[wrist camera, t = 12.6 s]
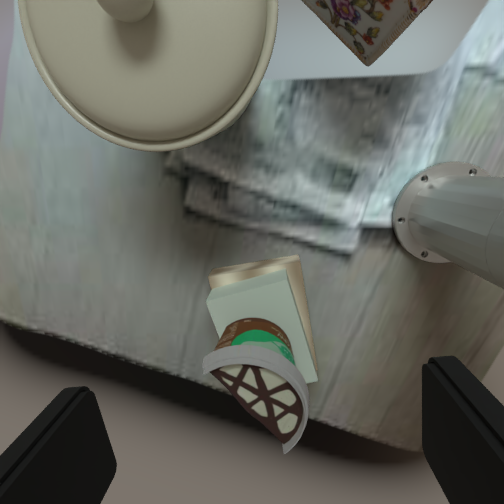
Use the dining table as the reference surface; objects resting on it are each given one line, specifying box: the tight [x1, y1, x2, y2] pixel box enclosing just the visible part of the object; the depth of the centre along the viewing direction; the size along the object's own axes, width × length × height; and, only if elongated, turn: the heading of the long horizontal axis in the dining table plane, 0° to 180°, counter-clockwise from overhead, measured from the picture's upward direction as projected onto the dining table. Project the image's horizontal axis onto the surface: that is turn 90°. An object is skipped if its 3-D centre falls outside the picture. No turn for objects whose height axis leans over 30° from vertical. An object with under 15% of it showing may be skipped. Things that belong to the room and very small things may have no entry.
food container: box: [202, 318, 310, 454], centre depth 32 cm, size 12×6×10 cm, turn 41°
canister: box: [18, 0, 278, 152], centre depth 27 cm, size 18×18×21 cm
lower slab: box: [208, 255, 318, 371], centre depth 43 cm, size 12×16×4 cm
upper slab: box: [206, 268, 318, 383], centre depth 39 cm, size 10×14×4 cm
